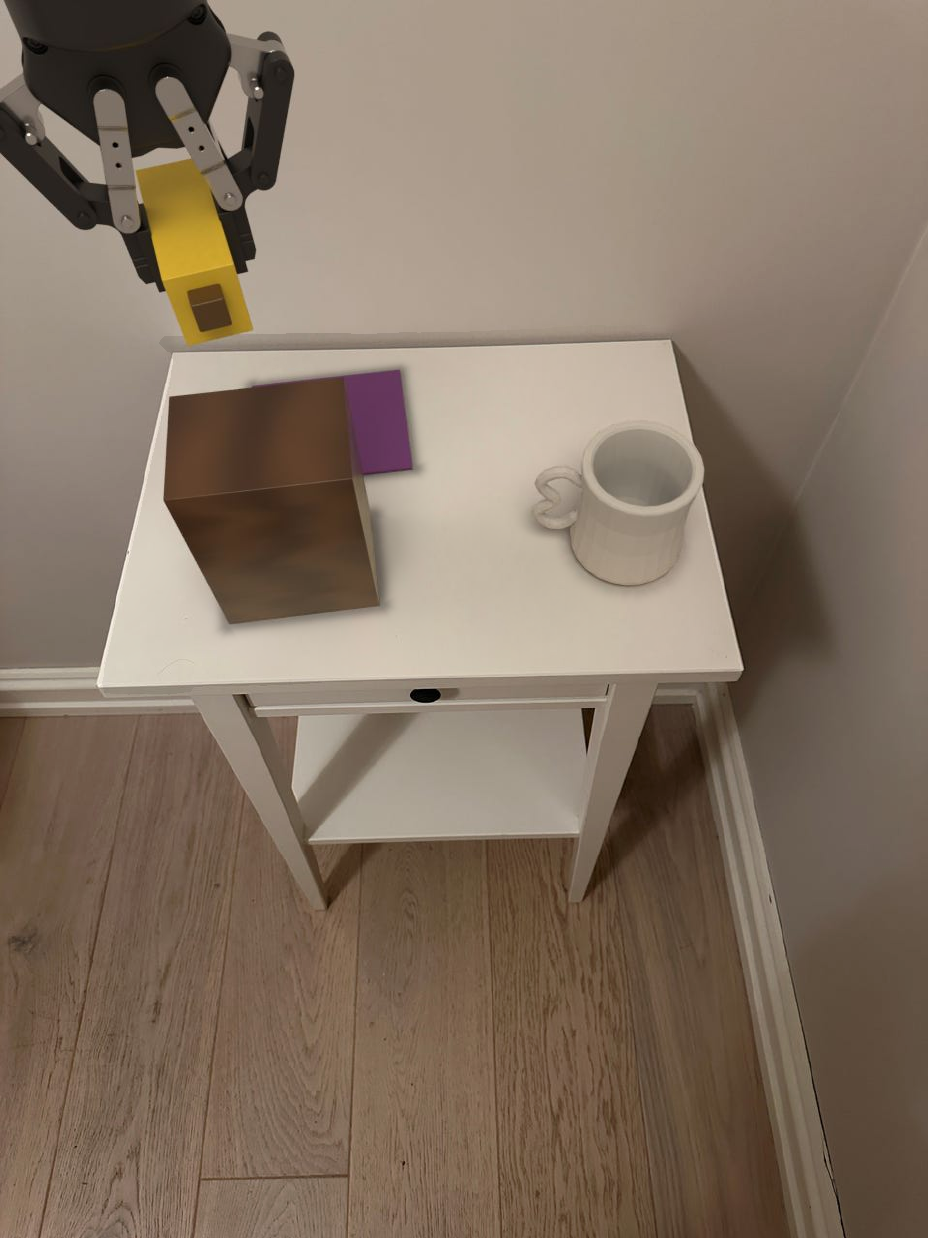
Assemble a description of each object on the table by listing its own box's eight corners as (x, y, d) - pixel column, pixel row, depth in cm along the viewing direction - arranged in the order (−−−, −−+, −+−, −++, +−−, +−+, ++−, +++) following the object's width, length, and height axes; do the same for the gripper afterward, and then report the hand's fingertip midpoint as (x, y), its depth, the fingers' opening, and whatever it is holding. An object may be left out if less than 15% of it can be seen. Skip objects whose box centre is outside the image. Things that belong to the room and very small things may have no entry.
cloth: (253, 487, 75) (252, 485, 74) (252, 387, 81) (251, 385, 80) (412, 469, 75) (412, 467, 75) (400, 371, 81) (399, 369, 81)
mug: (677, 502, 73) (703, 420, 64) (681, 593, 68) (710, 518, 60) (532, 494, 74) (538, 412, 65) (526, 583, 69) (532, 509, 61)
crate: (229, 624, 68) (162, 500, 54) (229, 532, 72) (168, 396, 59) (379, 605, 69) (352, 478, 55) (371, 515, 73) (344, 376, 59)
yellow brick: (158, 229, 48) (132, 160, 44) (218, 215, 48) (197, 146, 45) (191, 362, 43) (165, 296, 39) (258, 346, 43) (238, 279, 40)
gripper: (238, -211, 33) (315, 201, 48) (-147, -152, 31) (59, 259, 46) (280, -132, 29) (349, 287, 44) (-153, -60, 27) (72, 353, 42)
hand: (200, 271), depth 45 cm, fingers closed on yellow brick, 3 cm apart
